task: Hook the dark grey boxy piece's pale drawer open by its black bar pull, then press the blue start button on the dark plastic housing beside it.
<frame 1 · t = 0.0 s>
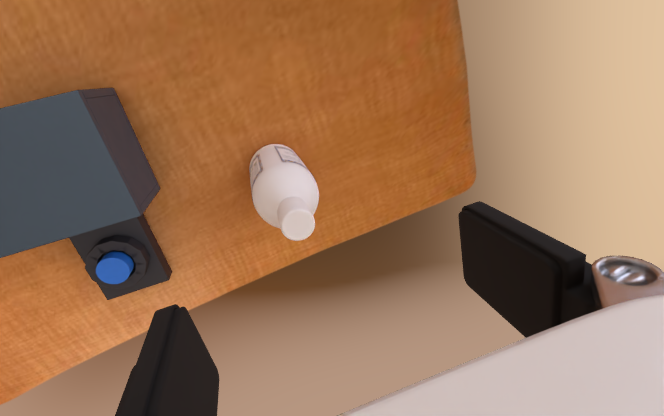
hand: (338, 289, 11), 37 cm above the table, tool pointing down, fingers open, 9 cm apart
dark grey boxy piece: (75, 158, 40), on the table
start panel: (126, 250, 45), on the table
bath foam: (275, 168, 47), on the table
start button: (115, 267, 41), point 4 cm above the table, slide at 0.1 cm
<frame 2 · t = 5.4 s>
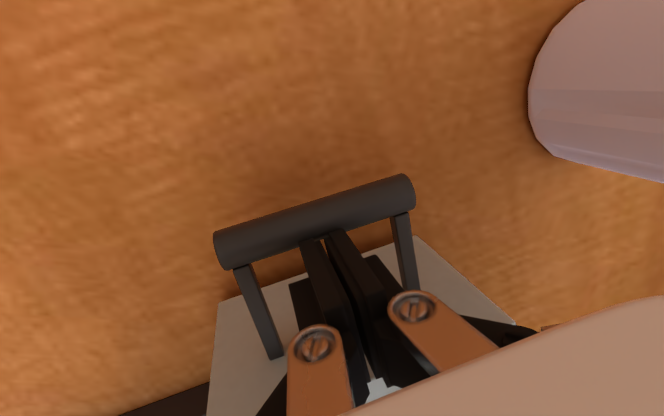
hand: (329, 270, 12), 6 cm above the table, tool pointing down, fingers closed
drawer: (357, 372, 17), point 5 cm above the table, slide at 1.2 cm, touching gripper
soap bottle: (586, 82, 20), on the table
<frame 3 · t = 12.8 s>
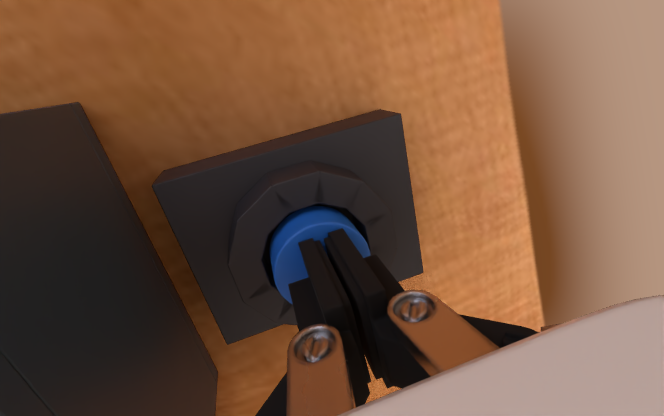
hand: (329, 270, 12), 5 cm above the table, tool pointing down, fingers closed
dark grey boxy piece: (14, 309, 15), on the table
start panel: (300, 217, 17), on the table
start button: (319, 257, 13), point 4 cm above the table, slide at -0.2 cm, touching gripper
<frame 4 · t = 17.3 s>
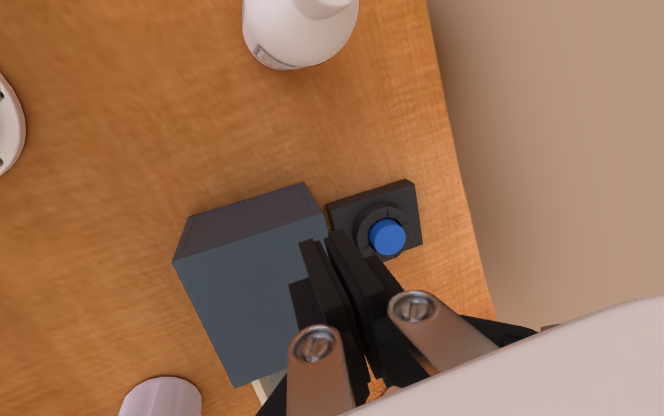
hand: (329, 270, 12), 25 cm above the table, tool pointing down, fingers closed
dark grey boxy piece: (267, 256, 39), on the table
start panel: (372, 221, 41), on the table
drawer: (301, 361, 40), point 5 cm above the table, slide at 7.3 cm
bath foam: (280, 30, 32), on the table
soap bottle: (164, 401, 43), on the table
start button: (387, 236, 37), point 4 cm above the table, slide at 0.1 cm
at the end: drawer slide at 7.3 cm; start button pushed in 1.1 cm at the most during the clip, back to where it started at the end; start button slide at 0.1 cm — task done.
